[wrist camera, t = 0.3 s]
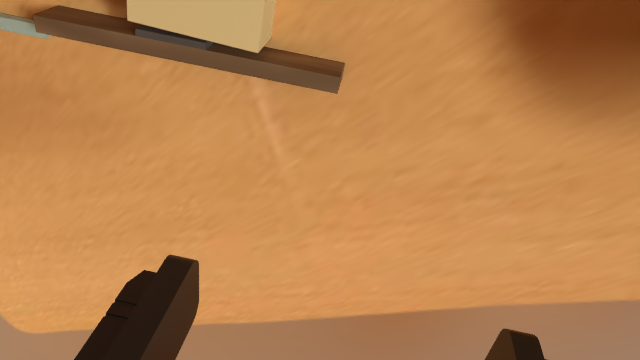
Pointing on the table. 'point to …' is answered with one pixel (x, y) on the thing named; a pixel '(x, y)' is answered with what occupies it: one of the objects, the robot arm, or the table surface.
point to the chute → (190, 48)
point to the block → (210, 19)
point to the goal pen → (19, 25)
